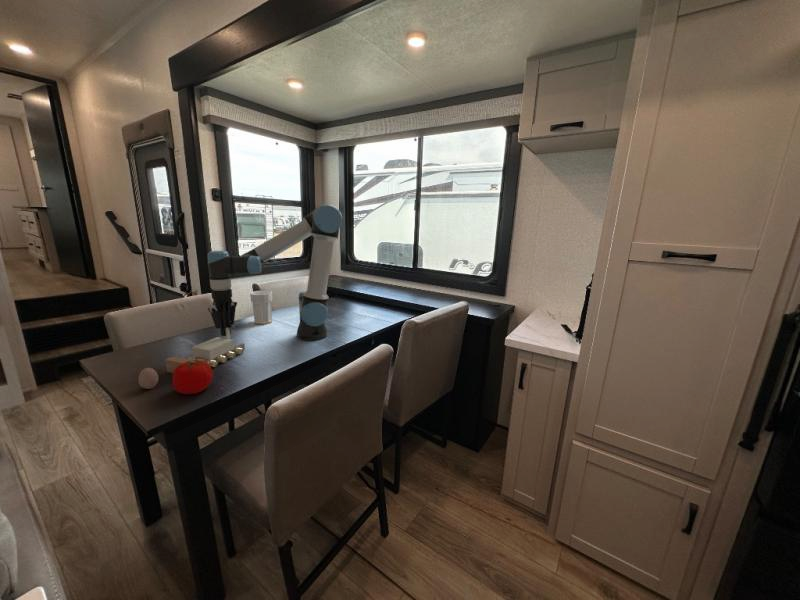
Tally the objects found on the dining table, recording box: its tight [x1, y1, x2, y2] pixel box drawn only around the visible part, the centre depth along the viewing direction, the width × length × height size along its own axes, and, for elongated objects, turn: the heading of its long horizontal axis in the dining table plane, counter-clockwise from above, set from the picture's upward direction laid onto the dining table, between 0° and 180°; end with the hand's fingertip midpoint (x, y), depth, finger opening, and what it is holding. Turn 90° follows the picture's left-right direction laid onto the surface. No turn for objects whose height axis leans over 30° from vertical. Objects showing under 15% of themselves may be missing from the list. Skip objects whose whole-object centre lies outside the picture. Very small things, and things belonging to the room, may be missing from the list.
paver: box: [191, 336, 236, 360], centre depth 129 cm, size 9×12×4 cm
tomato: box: [172, 360, 214, 395], centre depth 105 cm, size 12×12×10 cm
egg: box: [137, 367, 160, 390], centre depth 106 cm, size 5×5×7 cm
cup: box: [249, 290, 273, 326], centre depth 177 cm, size 11×11×17 cm
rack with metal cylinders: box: [165, 343, 246, 374], centre depth 129 cm, size 14×27×5 cm, turn 163°
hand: (226, 342), depth 136 cm, fingers closed
